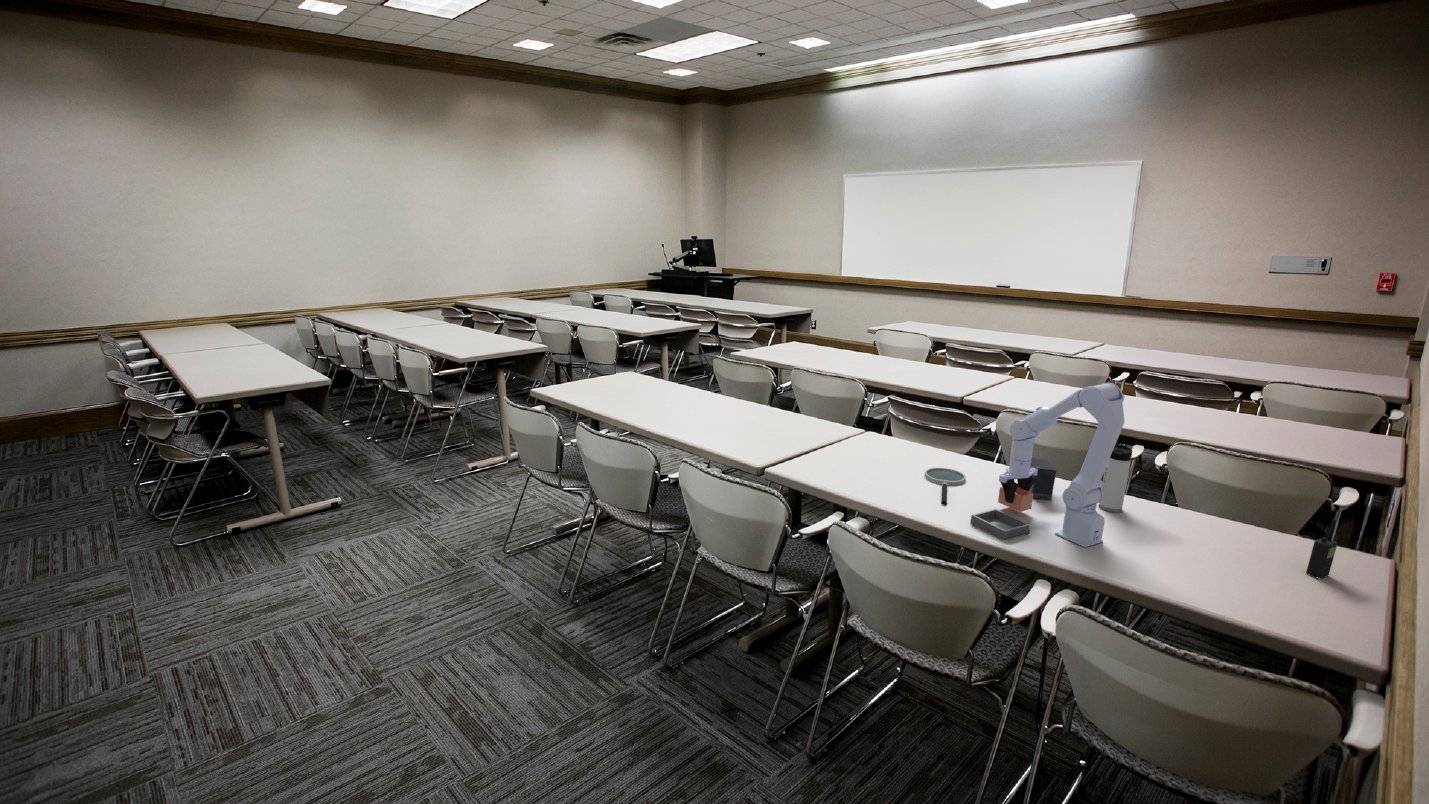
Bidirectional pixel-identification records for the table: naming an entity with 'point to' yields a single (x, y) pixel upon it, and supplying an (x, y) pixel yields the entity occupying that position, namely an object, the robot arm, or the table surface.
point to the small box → (1043, 479)
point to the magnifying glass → (945, 479)
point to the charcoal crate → (1000, 524)
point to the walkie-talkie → (1322, 555)
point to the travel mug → (1116, 479)
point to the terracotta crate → (1017, 499)
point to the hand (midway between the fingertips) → (1015, 500)
